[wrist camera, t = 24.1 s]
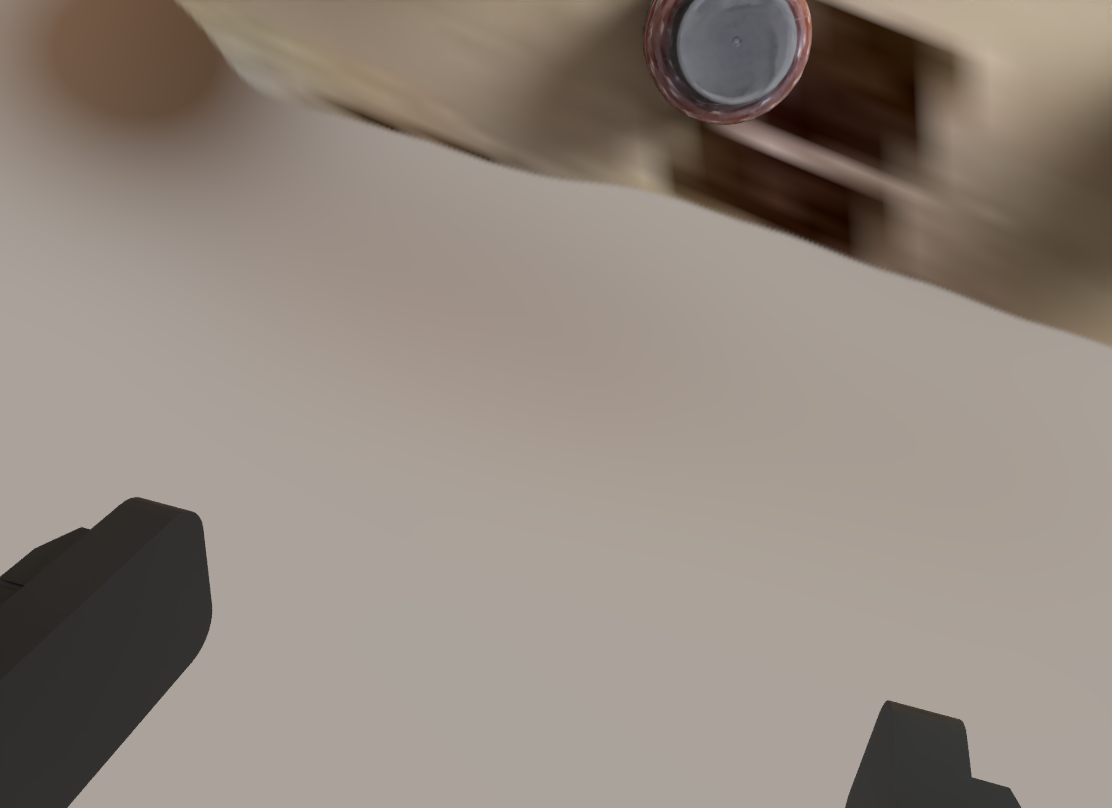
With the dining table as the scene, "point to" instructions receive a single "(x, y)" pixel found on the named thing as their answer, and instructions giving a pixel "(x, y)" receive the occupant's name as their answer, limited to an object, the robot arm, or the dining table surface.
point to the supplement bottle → (726, 55)
